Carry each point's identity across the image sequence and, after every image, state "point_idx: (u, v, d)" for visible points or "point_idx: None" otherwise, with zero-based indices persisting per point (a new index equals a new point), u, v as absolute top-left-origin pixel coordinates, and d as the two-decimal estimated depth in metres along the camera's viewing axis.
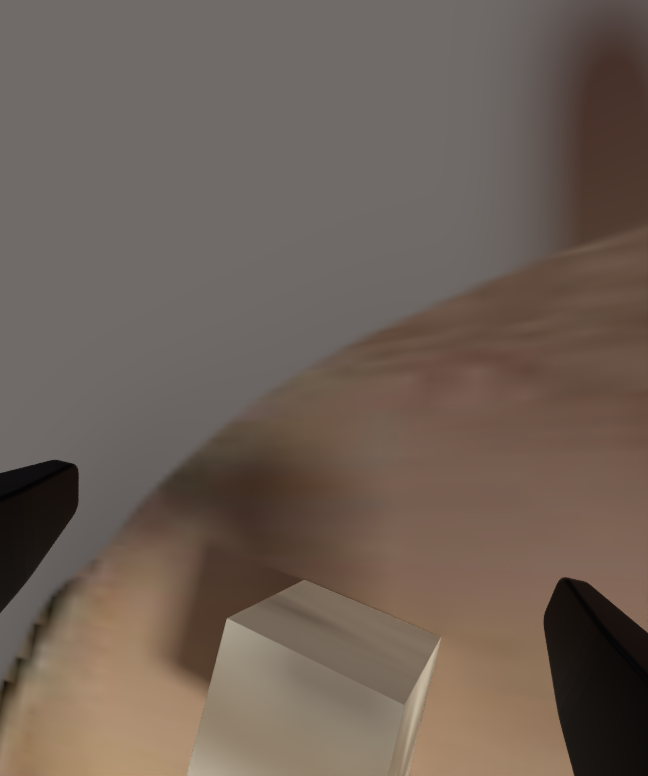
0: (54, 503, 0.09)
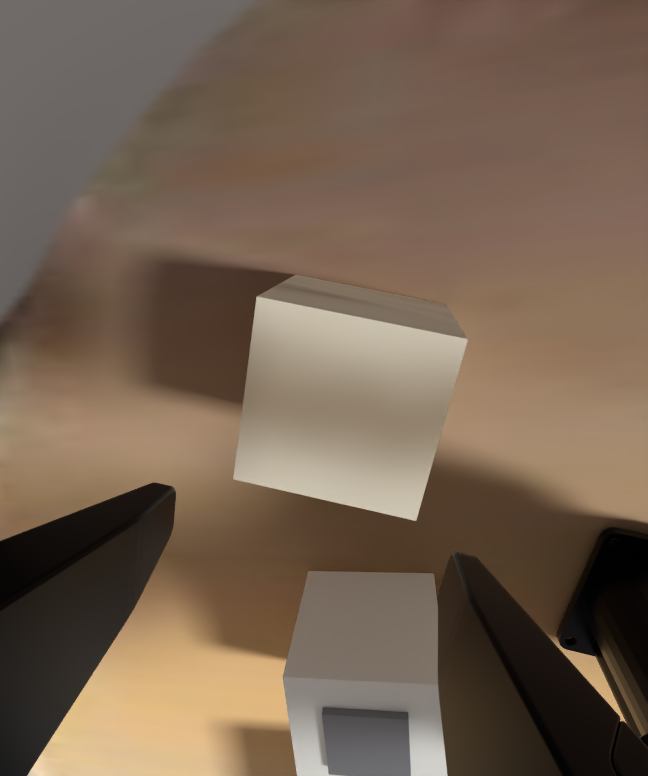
0: (158, 527, 0.08)
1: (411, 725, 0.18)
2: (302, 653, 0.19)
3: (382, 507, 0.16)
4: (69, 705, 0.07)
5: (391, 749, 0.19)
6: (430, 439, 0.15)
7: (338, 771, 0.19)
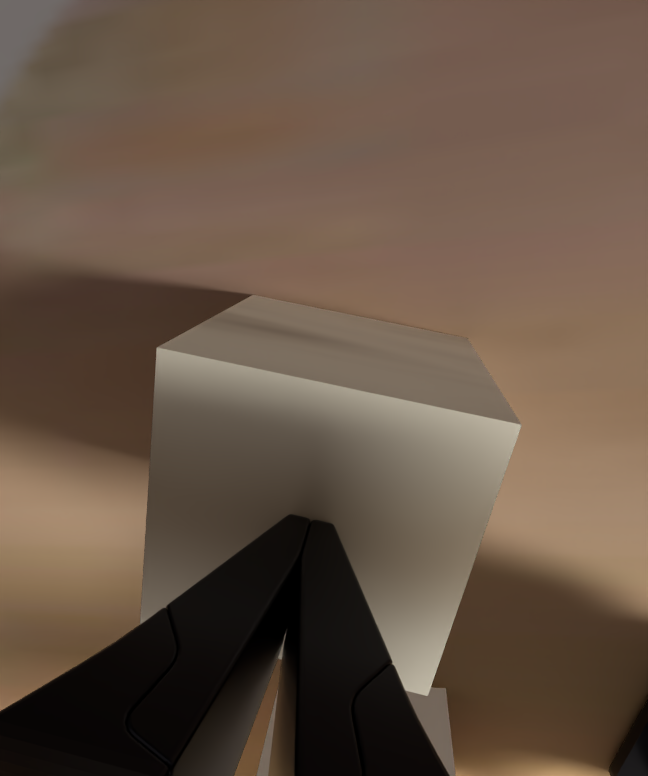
0: None
1: None
2: None
3: None
4: (242, 751, 0.07)
5: None
6: (452, 580, 0.09)
7: None
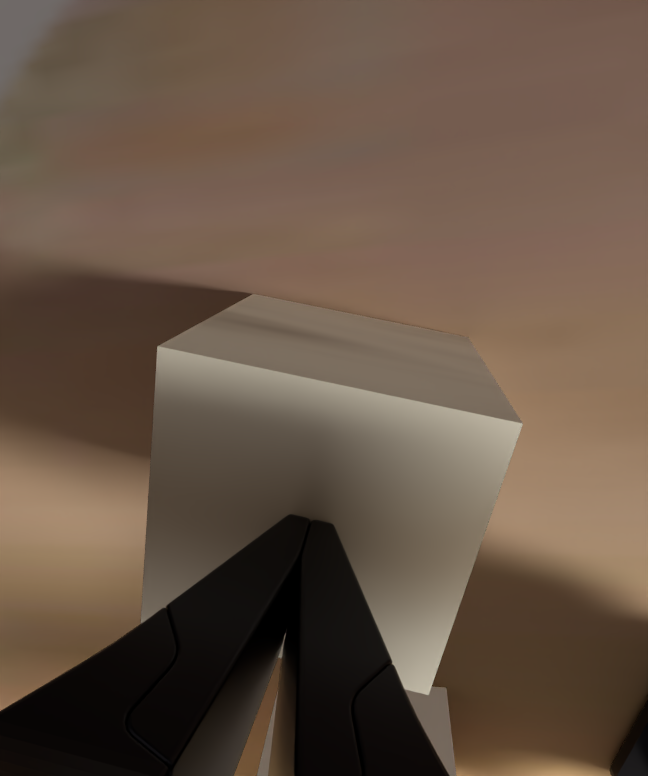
0: None
1: None
2: None
3: None
4: (242, 751, 0.07)
5: None
6: (453, 579, 0.09)
7: None
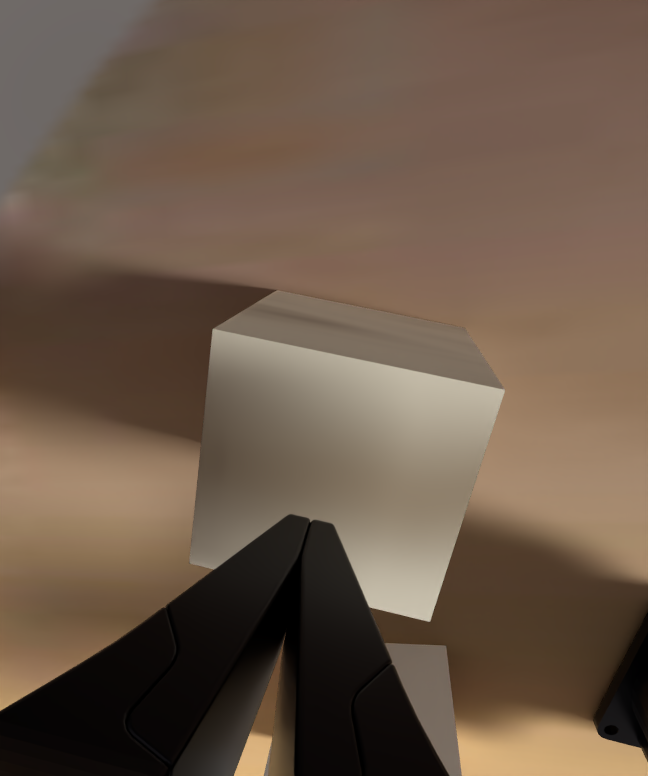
0: None
1: None
2: None
3: (385, 603, 0.12)
4: (242, 751, 0.07)
5: None
6: (450, 520, 0.11)
7: None
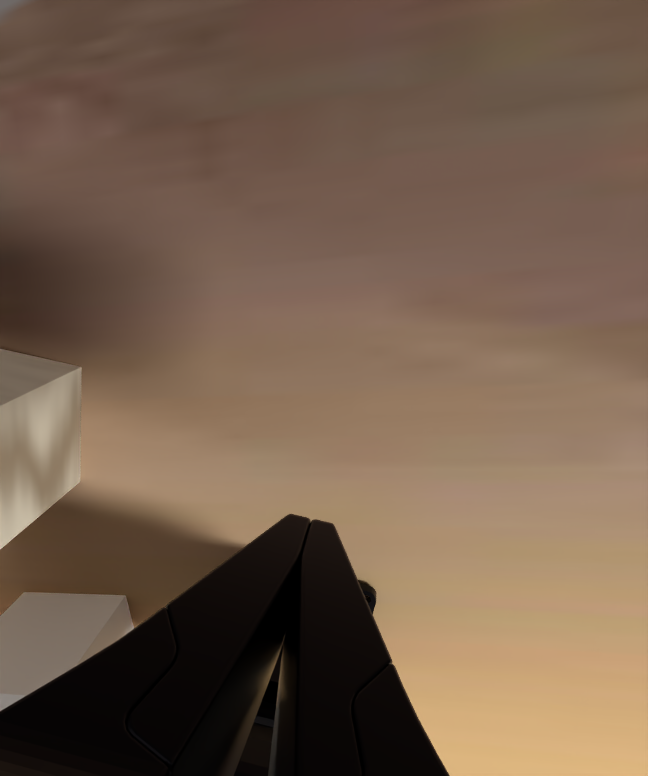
0: None
1: None
2: None
3: None
4: (242, 751, 0.07)
5: None
6: None
7: None
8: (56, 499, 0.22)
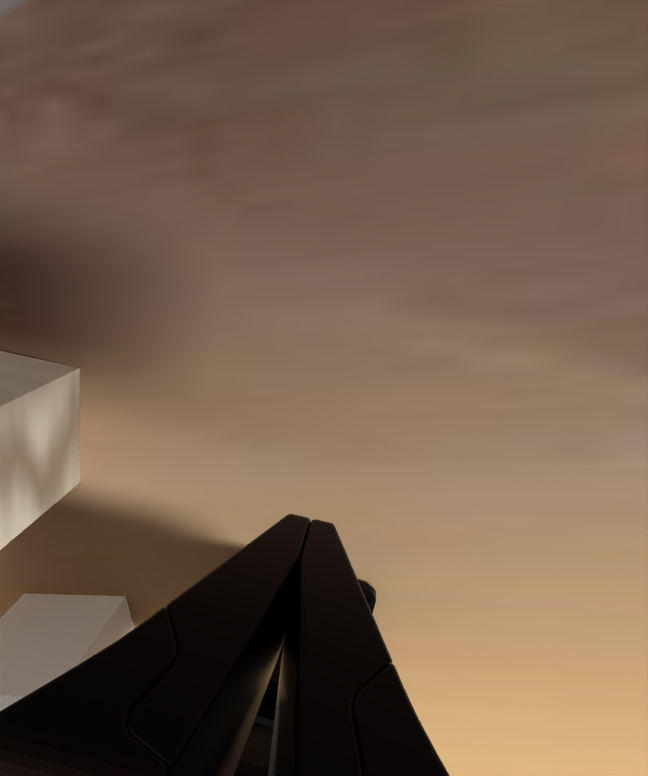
0: None
1: None
2: None
3: None
4: (242, 751, 0.07)
5: None
6: None
7: None
8: (55, 500, 0.22)
